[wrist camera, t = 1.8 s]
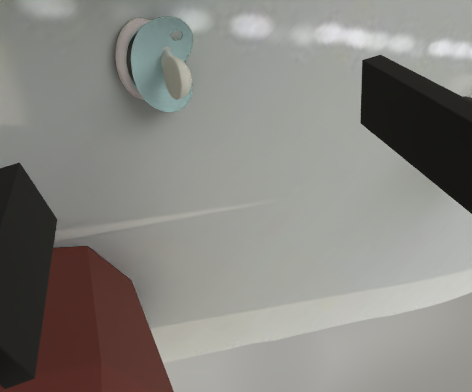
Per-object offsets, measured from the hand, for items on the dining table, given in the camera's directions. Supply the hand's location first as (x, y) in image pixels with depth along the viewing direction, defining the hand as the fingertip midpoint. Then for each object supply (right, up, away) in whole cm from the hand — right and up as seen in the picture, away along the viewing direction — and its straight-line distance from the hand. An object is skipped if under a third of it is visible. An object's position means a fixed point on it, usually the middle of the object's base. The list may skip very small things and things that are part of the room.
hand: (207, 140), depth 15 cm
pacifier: (-6, +9, +17) cm, 20 cm away
